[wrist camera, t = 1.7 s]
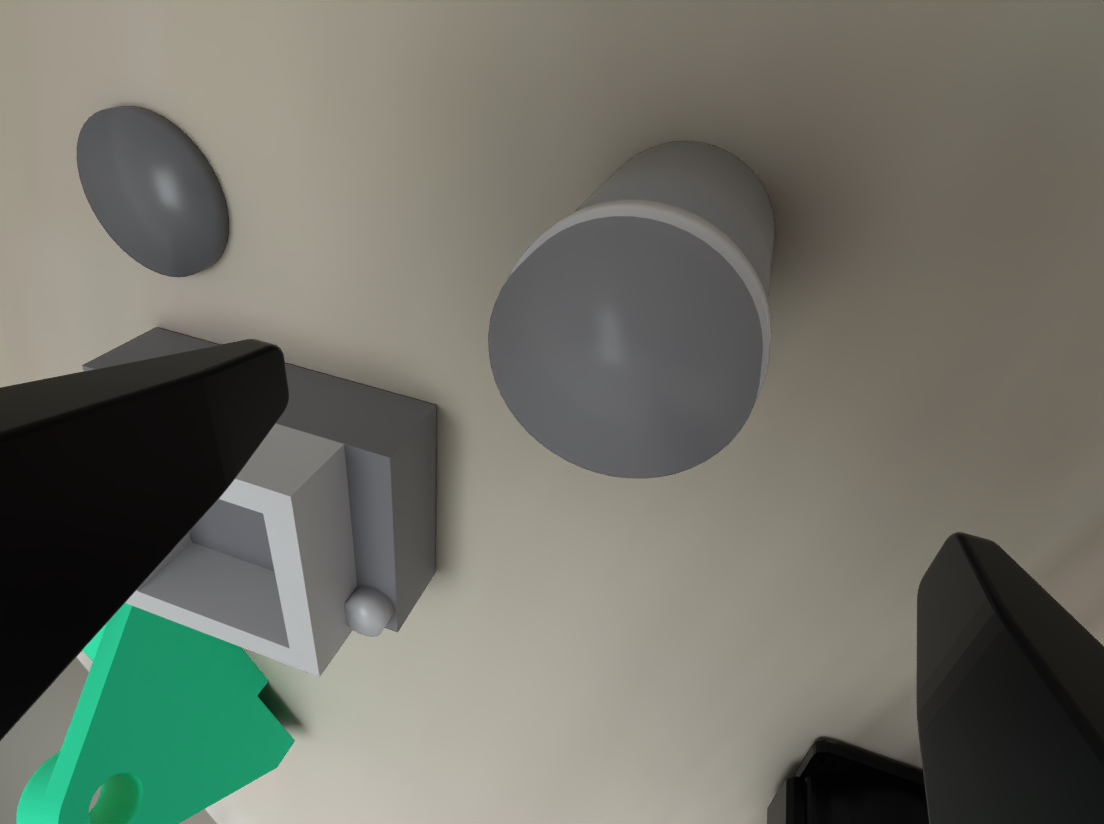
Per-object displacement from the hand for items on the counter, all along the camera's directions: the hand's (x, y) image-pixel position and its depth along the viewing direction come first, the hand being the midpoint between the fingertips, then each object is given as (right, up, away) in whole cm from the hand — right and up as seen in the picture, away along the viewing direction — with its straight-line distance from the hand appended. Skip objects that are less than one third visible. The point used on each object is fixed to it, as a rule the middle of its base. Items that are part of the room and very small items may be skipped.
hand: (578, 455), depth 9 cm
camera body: (-10, -1, +16) cm, 19 cm away
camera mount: (-20, -12, +27) cm, 36 cm away
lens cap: (-13, +7, +12) cm, 19 cm away
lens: (+3, +5, +7) cm, 9 cm away
